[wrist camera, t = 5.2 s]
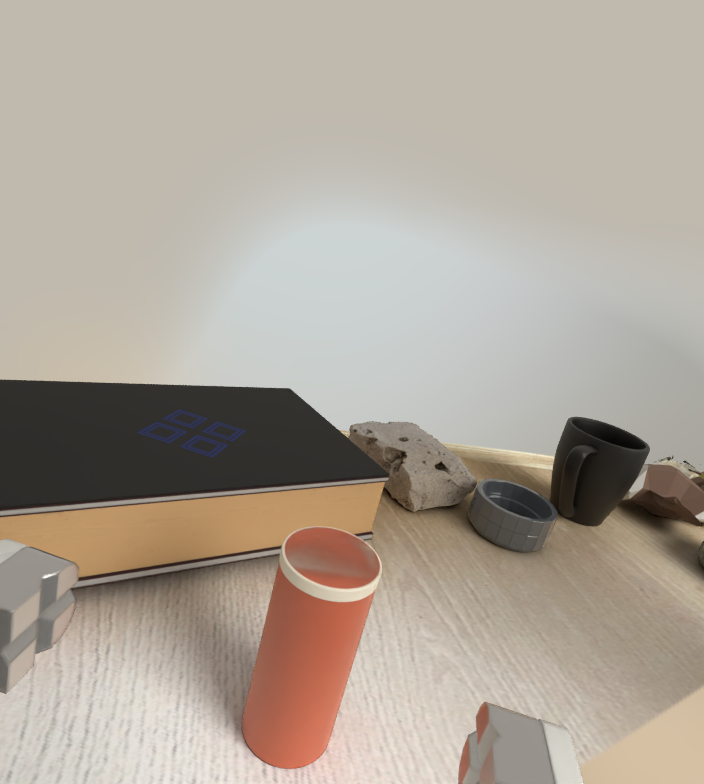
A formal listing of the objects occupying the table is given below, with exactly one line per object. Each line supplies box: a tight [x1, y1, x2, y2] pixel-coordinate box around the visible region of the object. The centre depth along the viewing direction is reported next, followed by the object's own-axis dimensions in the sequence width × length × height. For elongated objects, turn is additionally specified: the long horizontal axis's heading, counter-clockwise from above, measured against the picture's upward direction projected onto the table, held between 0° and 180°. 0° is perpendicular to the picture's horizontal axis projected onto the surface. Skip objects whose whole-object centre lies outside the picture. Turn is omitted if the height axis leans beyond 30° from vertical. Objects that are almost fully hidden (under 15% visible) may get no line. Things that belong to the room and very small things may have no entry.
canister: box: [242, 526, 382, 769], centre depth 25 cm, size 4×4×10 cm
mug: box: [550, 417, 650, 526], centre depth 56 cm, size 8×12×10 cm
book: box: [0, 380, 390, 590], centre depth 41 cm, size 17×25×7 cm
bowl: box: [468, 479, 558, 552], centre depth 50 cm, size 7×7×4 cm
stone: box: [349, 421, 477, 512], centre depth 55 cm, size 13×6×10 cm
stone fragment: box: [653, 457, 704, 479], centre depth 75 cm, size 19×8×5 cm
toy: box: [621, 464, 704, 526], centre depth 62 cm, size 16×16×7 cm
